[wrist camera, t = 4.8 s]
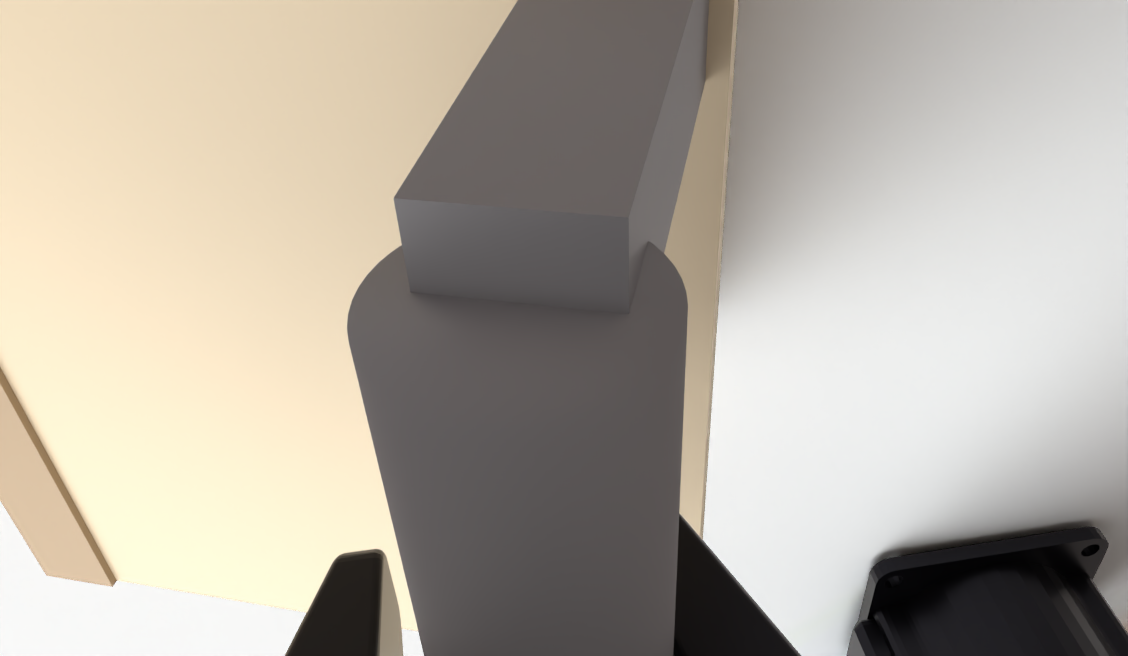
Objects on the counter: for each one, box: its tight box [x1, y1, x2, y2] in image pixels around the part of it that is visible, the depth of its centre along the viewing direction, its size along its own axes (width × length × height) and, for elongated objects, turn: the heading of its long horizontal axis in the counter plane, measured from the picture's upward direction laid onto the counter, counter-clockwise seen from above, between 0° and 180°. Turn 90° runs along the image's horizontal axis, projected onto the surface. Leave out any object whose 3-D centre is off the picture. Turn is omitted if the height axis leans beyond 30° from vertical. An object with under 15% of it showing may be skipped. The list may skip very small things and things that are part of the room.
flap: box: [0, 0, 739, 656], centre depth 10 cm, size 10×12×5 cm
